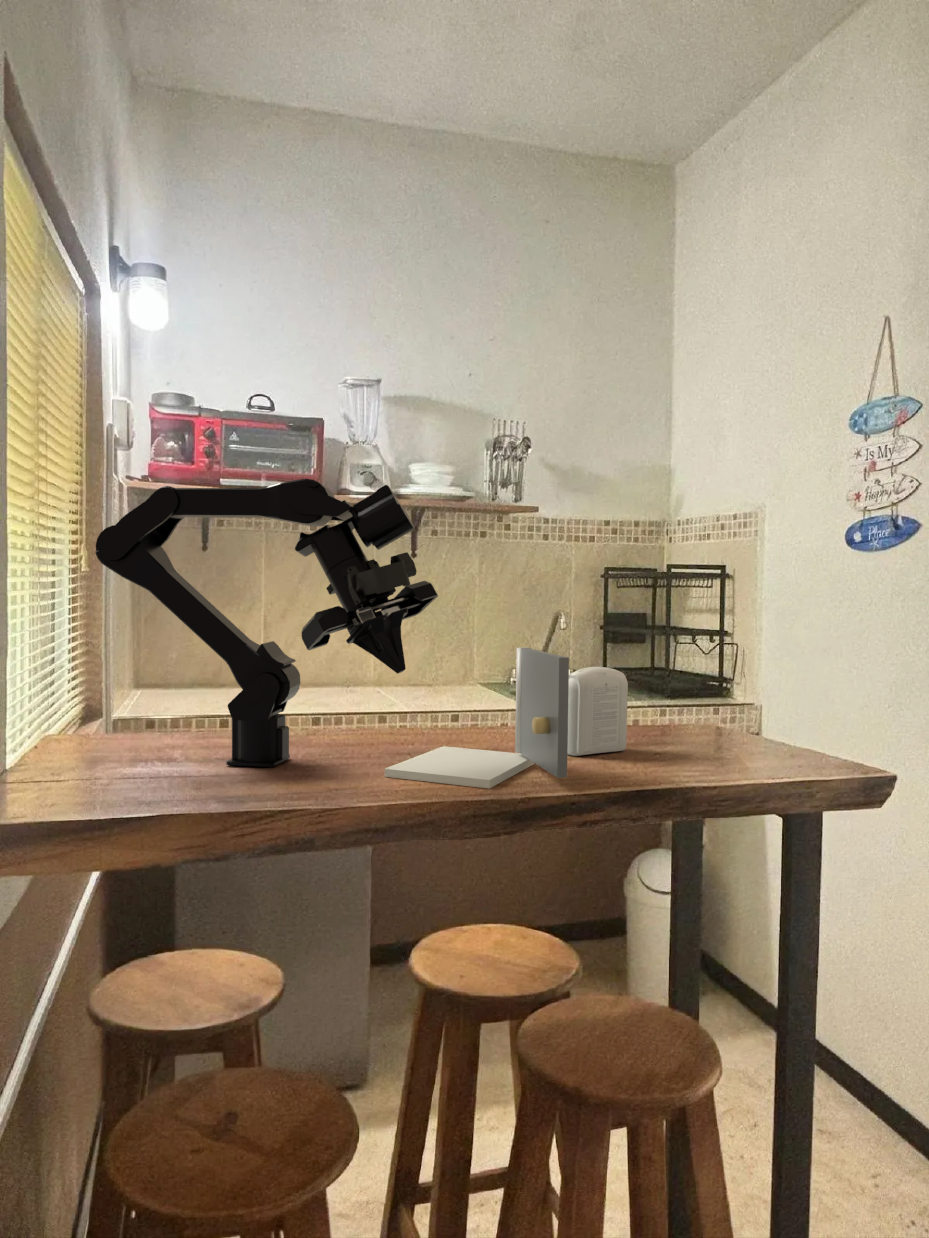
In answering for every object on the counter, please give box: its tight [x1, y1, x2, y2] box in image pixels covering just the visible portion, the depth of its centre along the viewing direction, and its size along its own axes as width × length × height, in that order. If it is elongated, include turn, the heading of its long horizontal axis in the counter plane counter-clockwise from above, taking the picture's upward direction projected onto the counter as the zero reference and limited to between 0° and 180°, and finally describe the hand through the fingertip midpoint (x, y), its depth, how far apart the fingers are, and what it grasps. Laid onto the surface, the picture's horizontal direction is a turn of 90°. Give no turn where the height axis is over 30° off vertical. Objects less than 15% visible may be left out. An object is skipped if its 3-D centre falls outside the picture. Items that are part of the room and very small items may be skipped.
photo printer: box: [567, 666, 629, 757], centre depth 123 cm, size 10×4×12 cm, turn 123°
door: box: [514, 647, 570, 779], centre depth 107 cm, size 3×17×14 cm, turn 13°
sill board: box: [384, 745, 536, 789], centre depth 110 cm, size 14×17×1 cm
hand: (401, 671), depth 108 cm, fingers closed
